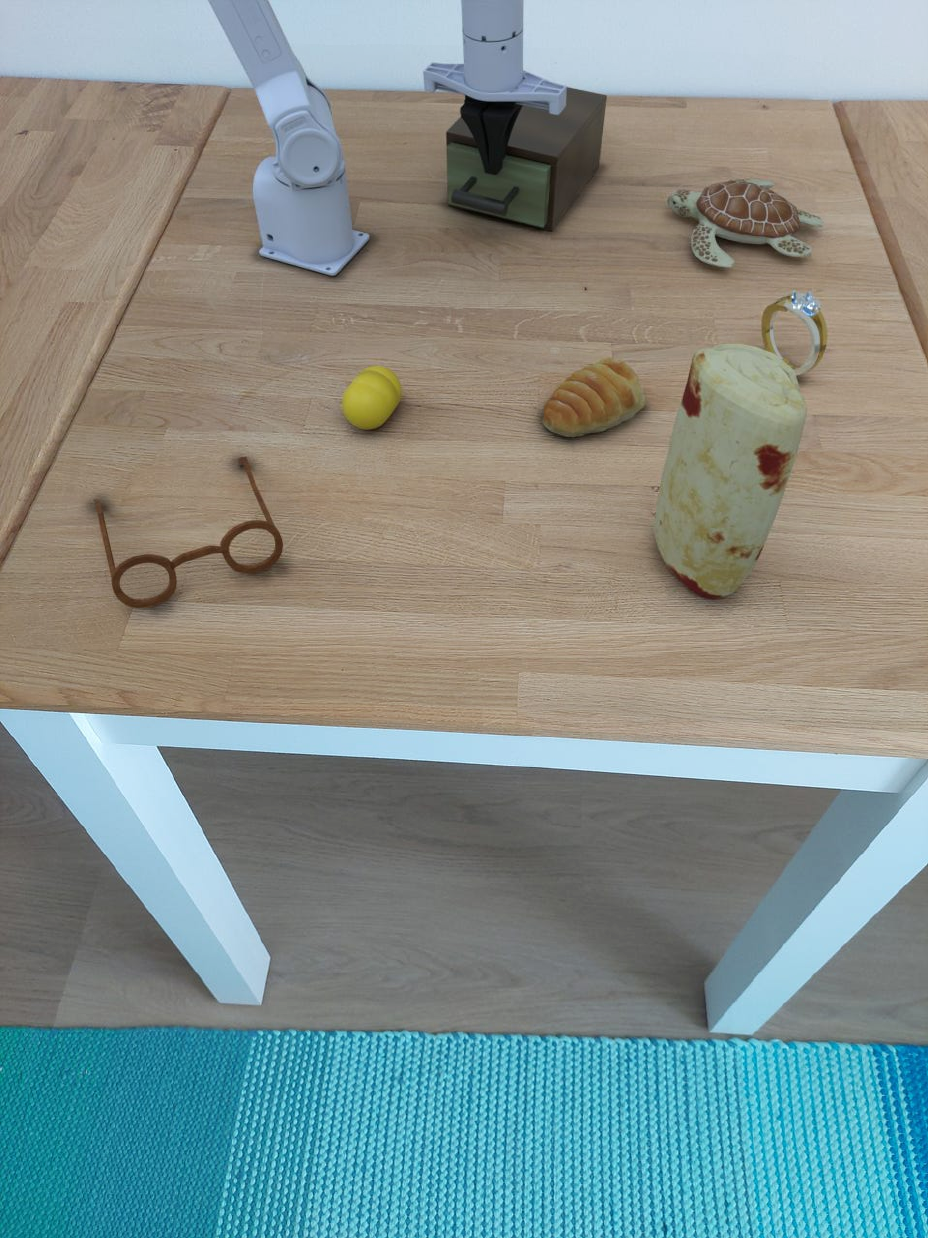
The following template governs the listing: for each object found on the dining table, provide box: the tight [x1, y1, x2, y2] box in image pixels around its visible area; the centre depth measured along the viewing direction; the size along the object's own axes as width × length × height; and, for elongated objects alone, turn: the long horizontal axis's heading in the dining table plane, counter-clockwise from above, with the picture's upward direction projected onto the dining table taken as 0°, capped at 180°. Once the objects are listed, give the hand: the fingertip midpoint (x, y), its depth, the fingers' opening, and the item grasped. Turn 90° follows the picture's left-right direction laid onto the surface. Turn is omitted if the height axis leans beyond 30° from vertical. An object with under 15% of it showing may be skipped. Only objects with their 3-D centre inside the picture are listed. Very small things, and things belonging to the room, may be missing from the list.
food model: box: [652, 343, 808, 600], centre depth 66 cm, size 10×7×20 cm
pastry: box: [542, 357, 646, 438], centre depth 84 cm, size 9×7×4 cm
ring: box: [760, 289, 828, 377], centre depth 85 cm, size 7×3×8 cm, turn 25°
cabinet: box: [445, 86, 608, 232], centre depth 105 cm, size 15×13×8 cm
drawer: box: [445, 142, 551, 228], centre depth 103 cm, size 18×12×6 cm, turn 155°
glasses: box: [93, 456, 284, 609], centre depth 75 cm, size 13×13×5 cm
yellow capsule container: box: [341, 365, 403, 431], centre depth 83 cm, size 6×4×4 cm
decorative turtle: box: [667, 178, 825, 269], centre depth 100 cm, size 18×17×5 cm
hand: (495, 169), depth 98 cm, fingers closed, pressing on drawer
